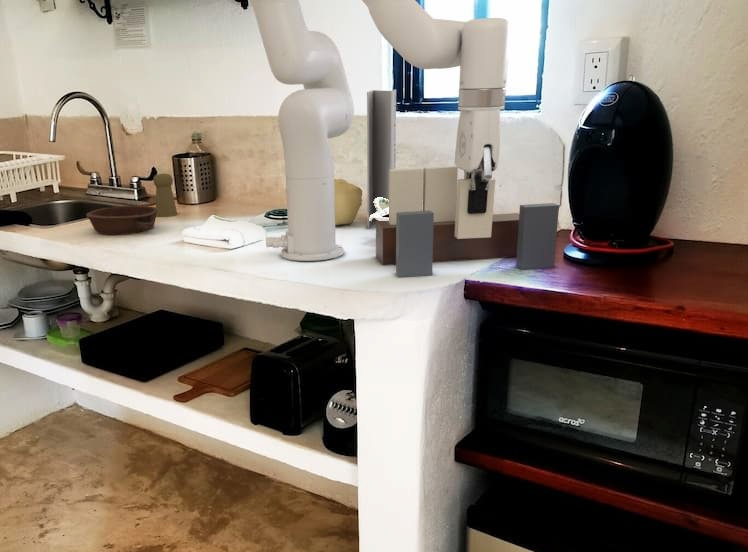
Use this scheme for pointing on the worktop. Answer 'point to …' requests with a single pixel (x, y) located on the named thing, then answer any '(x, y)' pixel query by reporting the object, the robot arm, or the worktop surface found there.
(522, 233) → the grey rectangular block
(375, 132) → the tall grey panel
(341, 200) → the sculpture
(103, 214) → the dish
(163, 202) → the olive pawn piece
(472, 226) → the cream book
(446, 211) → the cream book
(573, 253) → the worktop surface
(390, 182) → the cream book
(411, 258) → the grey book left
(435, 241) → the book shelf
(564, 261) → the worktop surface
